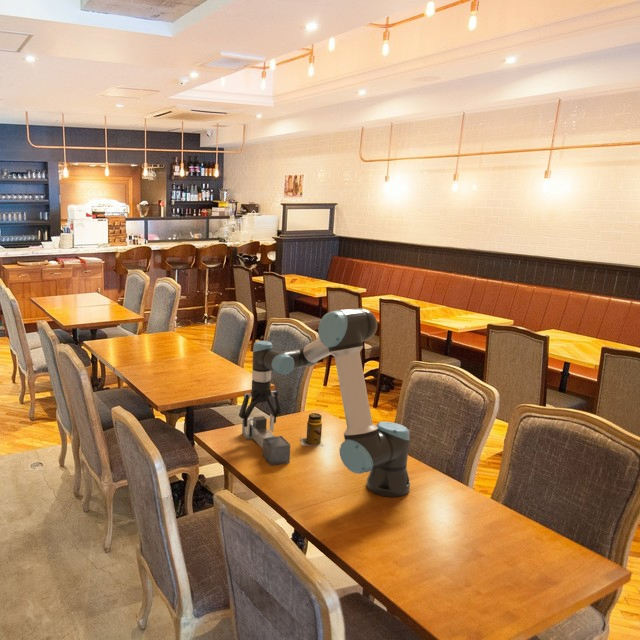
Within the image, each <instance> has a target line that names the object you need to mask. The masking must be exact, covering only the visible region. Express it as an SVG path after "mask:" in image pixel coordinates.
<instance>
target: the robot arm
mask: <svg viewBox="0 0 640 640" xmlns="http://www.w3.org/2000/svg"><path fill="white" fill-rule="evenodd" d="M377 330H378V320H377V318H376V316H375V314H374V313H373V312H372V311H371V310H369V309H367V308H363V307H354V308H348V309H338V310H337V309H336V310H332V311H329V312H327V313H325V314H324V315H323V316H322V318H321V320H320V321H319V325H318V330H317V332H318V337H319V338H317V339H315V340H313V341H311V342H310V343H307V344H306V345H304V346H302V347H299V348H296V349H291V350H284V351H278V350H275V349H273V343H272V342H271V341H268V340H258V341H255V342H254V343H253V346H252V347H253V349H252V370H251V375H252V376H251V378H252V379H251V392H250V393H246V392H244V393H243V401H242V404H241V407H240V411H239V413H238V417H239V418H240V419H242V423H243V425H244V427H245V433H246V434H247V435H249V423H250V419H249V418H250V416H251V414H252V412H253V410H254V409H255V407H256V406H257V404H259V403H260V404H261V403H265V404H266V405H267V407H268V409H269V411H270V413H271V414H269V429H268V430H269V431H270V432H271V433H273V432H274V433H275V431H274V427H275V424H276V422H277V417H278V415H281V411H282V410H281V408H280V407H281V406H280V403H279V399H278V395H279V393H278V391H277V390H275V389H274V390H271V386H272V385H271V384H272V381H271V379H272V371H273V372H275V373H277V374H282V375H288V374H290V373H291V372H292V371H293V370H295V369H301V368H305V367H306V368H308V367H312V366H314V365H317V363H318V362H319V361H320V360H322V359H324V358H326V357H328V356H330V355H332V356H333V357H334V362H335V368H336V373H337V377H338V383H339V389H340V395H341V400H342V401H341V402H342V405H343V412H344V417H345V422H346V429H345V431H344V432H343V439H344V441H342V443H341V444H340V447H339V456H340V459H341V462H342V463H343V466H344V467H346V468H347V469H348V470H349V472H351V473H353V474H358V475H359V474H364V473H369V474H368V476H367V479H366V487H367V489H369V491H371V492H372V493H374V494H376V495H379V496H381V497H387V498H398V497H402V496H406V495H407V494H408V493H409V492H410V488H411V487H410V486H411V482H410V478H409V473H408V469H407V466H408V457H409V456H408V455H409V447H410V430H409V429H408V428H407V427H406V426H405V425H402V424H400V423H397V422H391V421H379V422H378V423H377V424H374V422H373V418H372V413H371V408H370V407H371V406H370V402H369V398H368V391H367V386H366V385H367V384H366V381H365V374H364V370H363V364H362V357H361V351H362V350H363V348H364V344H363V342H366V341H368V340H370V339H371V338H373V337H374V336H375V334H376V332H377ZM270 396H272V400H273V405H274V407H273V405H272V403H271V401H270V399H269V398H270ZM250 398H251V400H250ZM249 400H250V403H249ZM248 404H249V405H248Z"/></svg>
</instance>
